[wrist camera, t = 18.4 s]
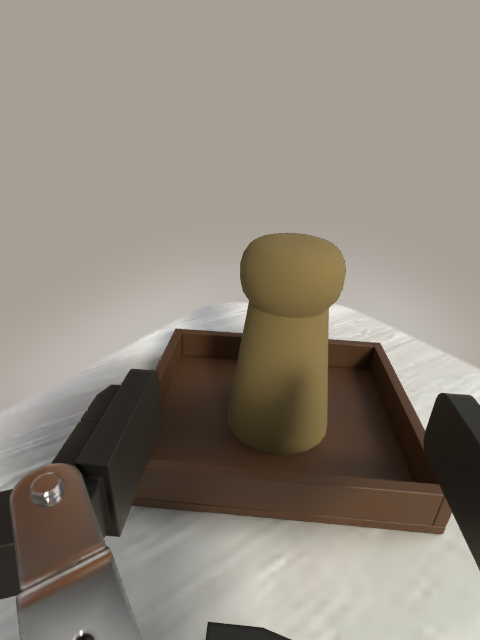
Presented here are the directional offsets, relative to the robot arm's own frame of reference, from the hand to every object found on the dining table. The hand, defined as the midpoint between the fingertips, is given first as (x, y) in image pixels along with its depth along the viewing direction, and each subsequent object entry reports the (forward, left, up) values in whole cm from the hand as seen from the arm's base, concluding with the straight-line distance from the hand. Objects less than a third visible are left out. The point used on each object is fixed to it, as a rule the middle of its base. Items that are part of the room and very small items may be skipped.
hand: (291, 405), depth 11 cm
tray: (0, +10, -9) cm, 13 cm away
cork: (0, +9, -9) cm, 13 cm away
